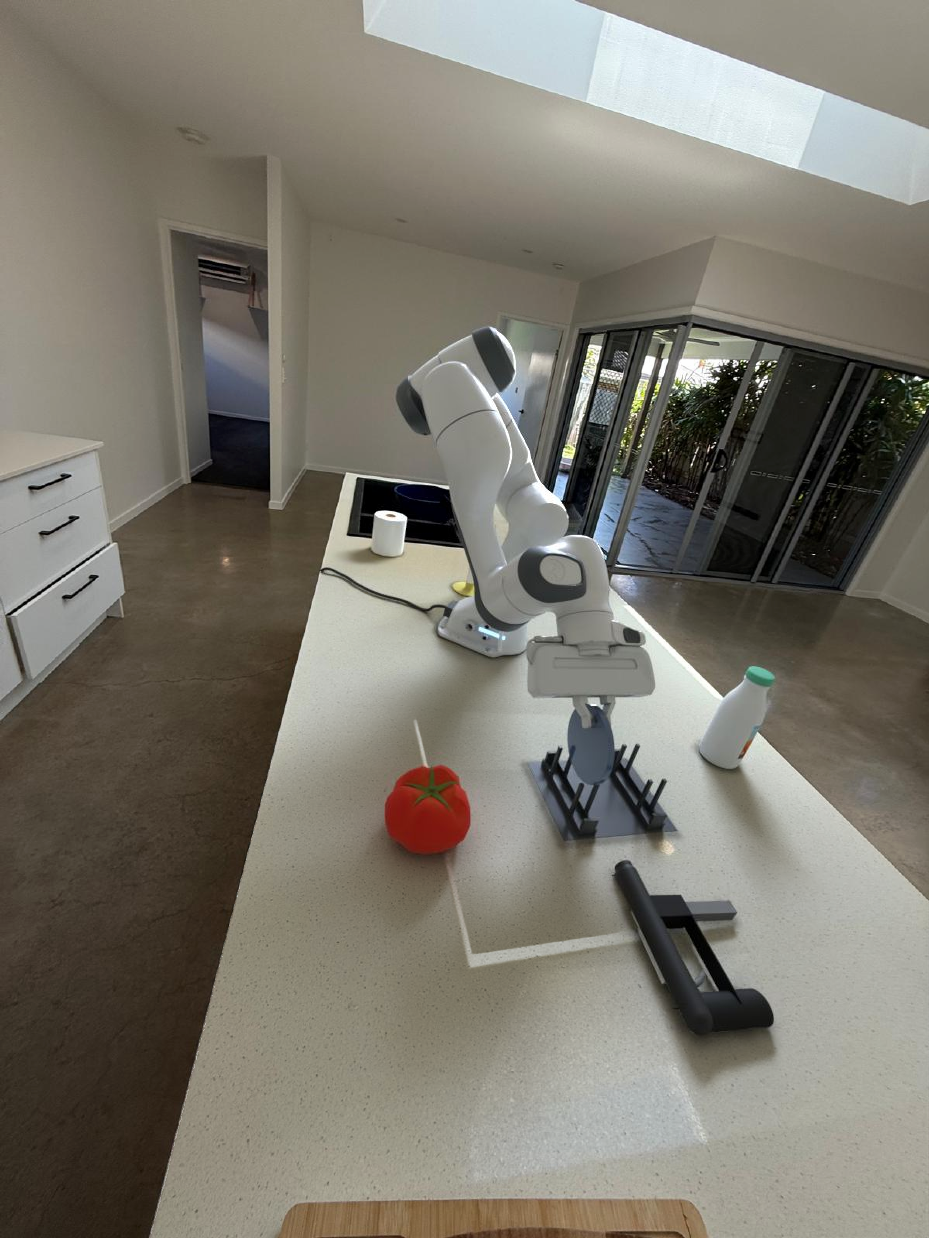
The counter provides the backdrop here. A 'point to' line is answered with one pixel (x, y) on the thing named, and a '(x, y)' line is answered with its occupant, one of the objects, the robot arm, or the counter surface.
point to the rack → (600, 799)
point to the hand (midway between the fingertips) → (597, 727)
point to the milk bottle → (737, 720)
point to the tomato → (428, 810)
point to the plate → (591, 747)
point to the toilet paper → (388, 533)
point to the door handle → (695, 1007)
